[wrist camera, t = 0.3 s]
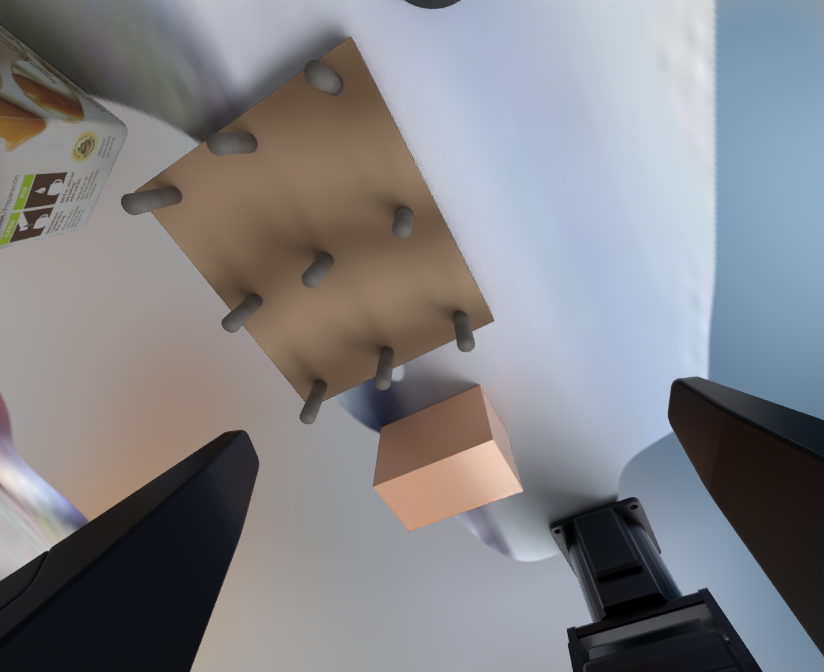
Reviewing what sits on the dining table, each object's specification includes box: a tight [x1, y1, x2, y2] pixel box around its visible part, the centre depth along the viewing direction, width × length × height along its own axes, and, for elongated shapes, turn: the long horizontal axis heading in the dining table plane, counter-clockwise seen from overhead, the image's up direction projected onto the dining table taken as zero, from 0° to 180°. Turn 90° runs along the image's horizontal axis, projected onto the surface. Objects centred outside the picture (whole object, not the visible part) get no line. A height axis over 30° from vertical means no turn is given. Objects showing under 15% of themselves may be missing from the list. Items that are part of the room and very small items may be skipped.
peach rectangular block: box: [373, 385, 523, 531], centre depth 24 cm, size 4×7×5 cm, turn 119°
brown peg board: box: [121, 37, 494, 424], centre depth 19 cm, size 14×12×4 cm
